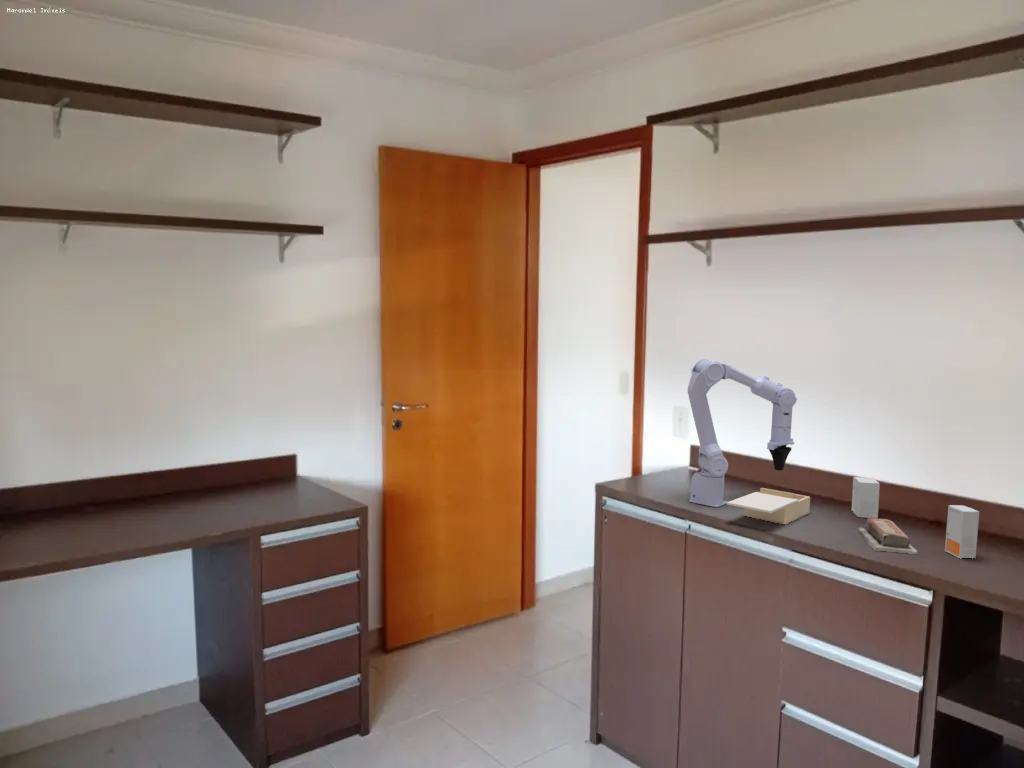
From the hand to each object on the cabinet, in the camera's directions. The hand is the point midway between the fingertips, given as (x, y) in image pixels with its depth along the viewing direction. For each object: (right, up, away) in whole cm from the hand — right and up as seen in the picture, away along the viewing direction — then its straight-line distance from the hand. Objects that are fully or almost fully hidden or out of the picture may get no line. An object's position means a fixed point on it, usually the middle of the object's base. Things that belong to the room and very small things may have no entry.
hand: (778, 469), depth 237 cm
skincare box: (+28, -16, -48) cm, 58 cm away
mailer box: (-5, -12, -13) cm, 18 cm away
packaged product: (+15, -15, -38) cm, 43 cm away
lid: (-12, -7, -21) cm, 25 cm away
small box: (+22, -12, -11) cm, 27 cm away
